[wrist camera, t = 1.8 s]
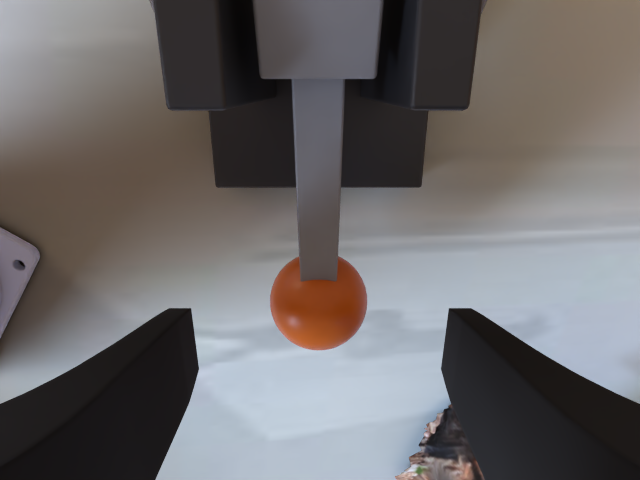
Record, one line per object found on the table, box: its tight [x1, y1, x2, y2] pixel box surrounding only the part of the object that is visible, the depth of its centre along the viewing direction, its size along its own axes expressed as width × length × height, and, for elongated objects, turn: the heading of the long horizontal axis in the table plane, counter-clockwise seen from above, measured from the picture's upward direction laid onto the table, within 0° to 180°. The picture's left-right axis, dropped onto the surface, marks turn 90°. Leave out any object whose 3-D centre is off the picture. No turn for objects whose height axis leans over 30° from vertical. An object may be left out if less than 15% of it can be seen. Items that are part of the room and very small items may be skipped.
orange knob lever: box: [252, 0, 384, 350], centre depth 11 cm, size 12×3×3 cm, turn 179°
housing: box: [150, 0, 487, 188], centre depth 10 cm, size 11×8×10 cm
